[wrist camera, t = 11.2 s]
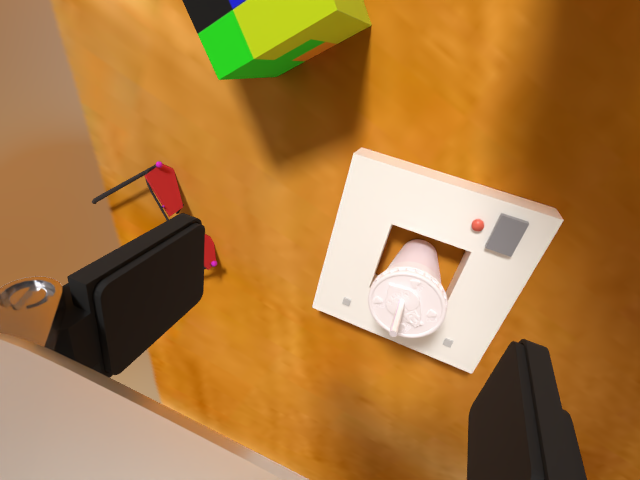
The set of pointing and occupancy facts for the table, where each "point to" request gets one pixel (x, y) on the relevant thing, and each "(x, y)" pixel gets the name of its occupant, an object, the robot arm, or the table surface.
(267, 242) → the table surface
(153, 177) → the glasses
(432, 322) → the smoothie
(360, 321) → the socket plate
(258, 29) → the puzzle toy
